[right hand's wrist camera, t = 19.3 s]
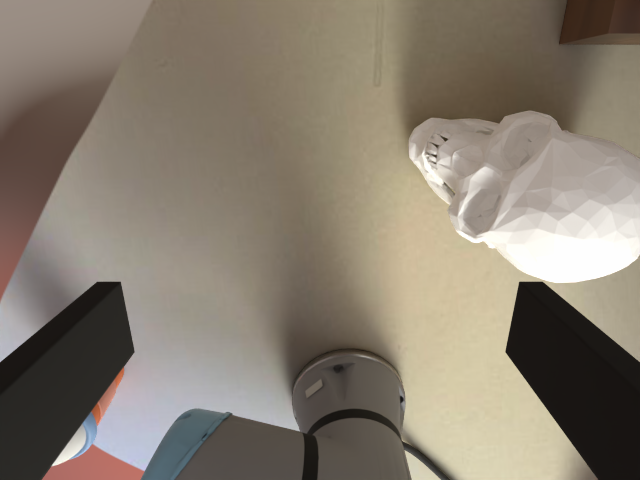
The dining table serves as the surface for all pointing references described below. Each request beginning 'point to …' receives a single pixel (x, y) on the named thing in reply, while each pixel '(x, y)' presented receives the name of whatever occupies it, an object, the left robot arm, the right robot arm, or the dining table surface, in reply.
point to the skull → (535, 192)
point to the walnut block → (601, 22)
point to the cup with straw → (89, 425)
